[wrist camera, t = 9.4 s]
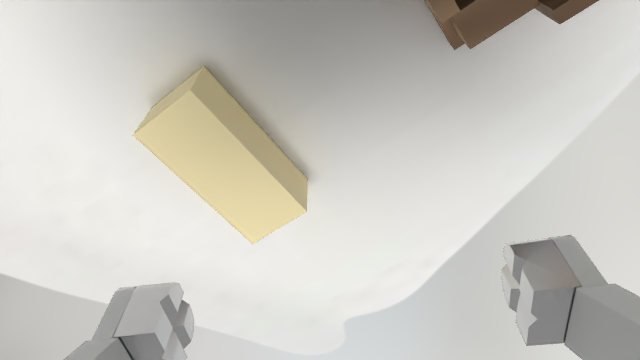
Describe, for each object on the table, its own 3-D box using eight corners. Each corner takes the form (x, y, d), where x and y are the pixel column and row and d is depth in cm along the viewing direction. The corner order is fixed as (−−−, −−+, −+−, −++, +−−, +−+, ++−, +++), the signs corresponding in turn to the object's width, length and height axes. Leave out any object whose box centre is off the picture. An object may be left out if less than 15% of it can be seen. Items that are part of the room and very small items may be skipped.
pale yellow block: (153, 105, 26) (132, 135, 23) (204, 64, 25) (190, 89, 22) (258, 207, 30) (252, 244, 27) (307, 176, 29) (306, 211, 26)
